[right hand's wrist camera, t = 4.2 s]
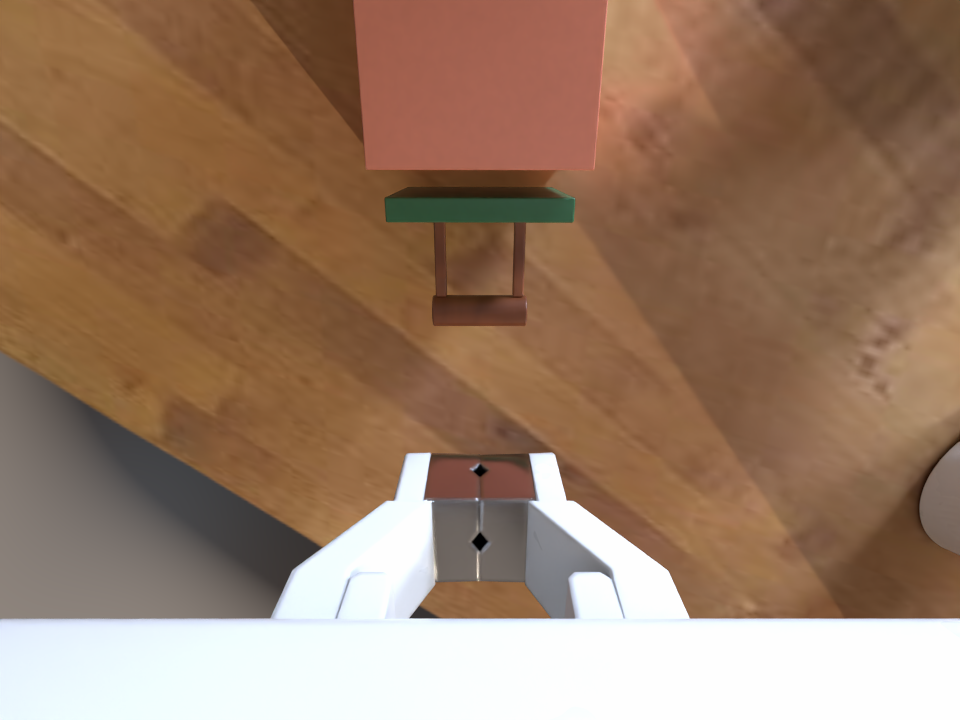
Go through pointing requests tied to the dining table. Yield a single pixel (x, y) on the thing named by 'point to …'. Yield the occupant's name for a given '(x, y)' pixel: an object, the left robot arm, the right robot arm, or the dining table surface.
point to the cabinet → (480, 83)
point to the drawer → (480, 207)
